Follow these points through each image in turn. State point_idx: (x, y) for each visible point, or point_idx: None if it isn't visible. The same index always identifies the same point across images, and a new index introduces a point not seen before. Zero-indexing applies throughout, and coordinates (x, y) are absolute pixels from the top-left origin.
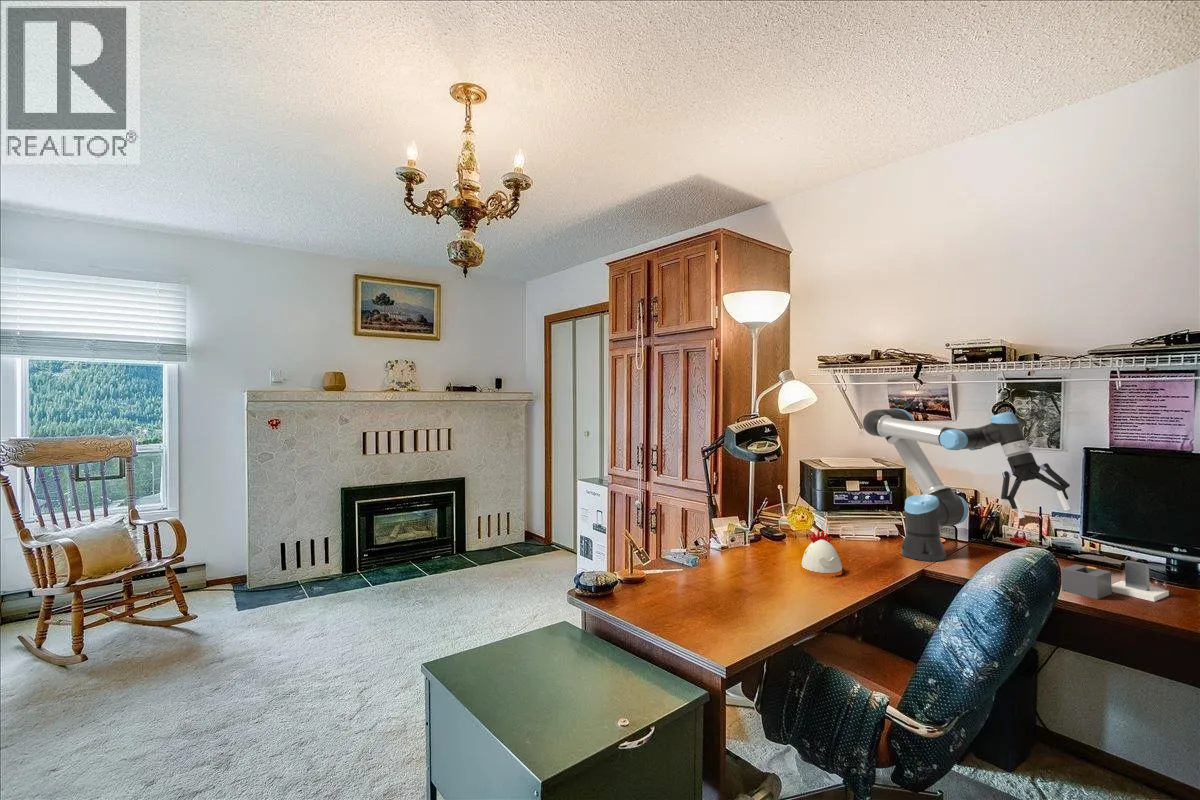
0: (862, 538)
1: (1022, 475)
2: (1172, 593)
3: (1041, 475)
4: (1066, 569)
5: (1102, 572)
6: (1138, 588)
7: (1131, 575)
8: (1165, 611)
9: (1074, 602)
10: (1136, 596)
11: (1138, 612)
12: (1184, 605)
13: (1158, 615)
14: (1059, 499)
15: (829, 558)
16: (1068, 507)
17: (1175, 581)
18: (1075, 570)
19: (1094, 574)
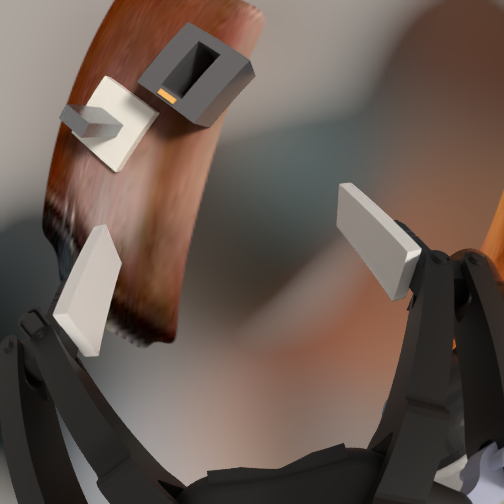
0: None
1: (402, 498)
2: (69, 150)
3: (123, 492)
4: (239, 56)
5: (159, 64)
6: (108, 114)
7: (101, 118)
8: (119, 31)
9: (257, 9)
10: (125, 88)
11: (164, 3)
12: (79, 82)
13: (140, 5)
14: (107, 309)
15: None
16: (94, 232)
17: (52, 233)
18: (217, 58)
19: (185, 37)
